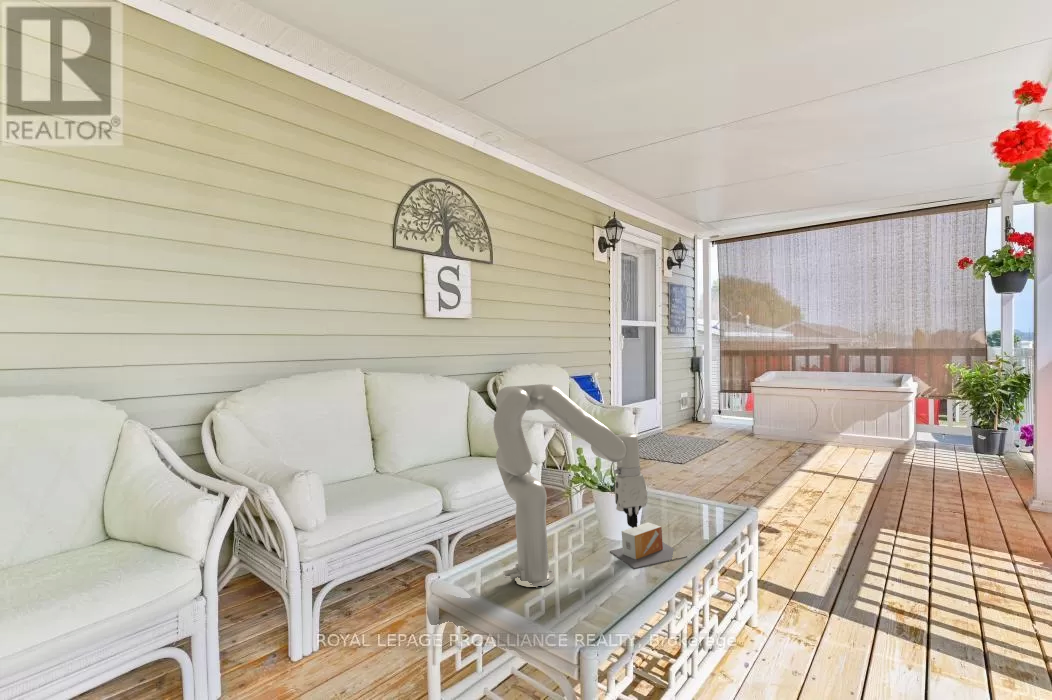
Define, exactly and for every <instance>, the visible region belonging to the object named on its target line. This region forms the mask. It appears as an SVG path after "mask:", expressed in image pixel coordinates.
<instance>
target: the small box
mask: <svg viewBox="0 0 1052 700" xmlns="http://www.w3.org/2000/svg"><path fill="white" fill-rule="evenodd" d="M662 528H663V527H662V526H661V525H657V524H654V523H651V522H649V521H648V522H645V523H642V524H639V525H638V524H637V527H634V528H632V527H630V528H627V529H624V530H621V544H622V548H623V554H624V555H626V556H629V557H631V558H633V559H639V558H642V557H644V556H647V555H650V554H652V553H655V552H657V551H660V550H663V544H662V542H663V533H662V531H663V530H662Z"/></svg>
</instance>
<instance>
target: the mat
mask: <svg viewBox="0 0 1052 700" xmlns="http://www.w3.org/2000/svg"><path fill="white" fill-rule="evenodd" d="M662 544H663V550H660V551H657V552H655V553H652V554H650V555H647V556H644V557H642V558H639V559H633V558H631V557H629V556H626V555H624V554H623V547H621V548H616V549H611V550H609V553H611V554H612V555H614V556H615V557H617V558H618V559H620V560H621V561H623V562H624V563H625V564H626V565H628V566H629V567H631V568H633V569H634V570H636V569H641V568H646V567H650V566H654V565H659V564H663V562H664V563H666V562H665V561H668V562H670V561H669V560H672V557H673V556H672V555H673V551H674V549H675V548H673V547H672V546H670V545H669V544H667V543H665V542H663V541H662ZM672 561H673V560H672Z"/></svg>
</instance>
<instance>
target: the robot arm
mask: <svg viewBox="0 0 1052 700" xmlns="http://www.w3.org/2000/svg"><path fill="white" fill-rule="evenodd" d="M495 404H496V406H497V408H496V412H495V415H494V416H493V431H494V436H495V439H496V444H497V446H498V448H497V450H496V454H495V461H496V465H497V469H498V471H499V474H500V476H501V480H502V482H503V485H504V488H505V490H506V492H507V495H508V496H509V497H510V499H512V500H513V501H514V502H515V533H516V551H517V552H516V553H517V563H516V564H515V567H513V568H512V569H507V570H503V572H502V573H504V574H503V576H504V575H505V576H510V577H509V579H510V580H514V578H517V577H518V578H520V580H521V581H528V582H529V583H532V584H530V585H533V586H542V587H545V586H548V585H550V584H551V583H552V582H554V580H555V573H554V571H553V570H552V569H550V565H549V551H548V549H549V548H548V535H547V534H548V533H547V531H548V530H547V521H546V519H547V517H546V516H547V515H546V514H547V513H546V510H547V498H548V497H547V491H546V488H545V486H544V484H543V483H542V482H541V481H540V480H539V479H538V478H536V477H534V476H533V475H532V474H531V472H530V471H531V469H532V467H533V458H532V455H531V452H530V449H529V447H528V444H527V440H526V438H525V435H524V432H523V427H522V419H523V417H524V415H525V413H526V412H528V411H535V410H540V411H543V412H544V413H545V414H547V415H548V416H549V417H550V418H552V419H553V420H554V421H555V422H556V423H557V424H559V425H560V426H561V427H562V428H563V429H564V430H566V431H567V432H568V433H570V434H572V435H573V436H575V437H577V438H579V439H581V440H583V441H584V442H586V443H588V444H589V445H590V449H591V452H592V453H593V454H594V455H595V456H597V457H598V458H601V459H603V460H606V461H608V462H611V463H616V469H613V473H614V474H615V476H616V477H615V482H614V500H615V501H614V502H615V504H616V508H615V509H616V511H619V512H624V513H625V514H626V522H627V523H626V524H627V525H628V527H630V528H634V527H637V526H638V515H639V514H640V513H639V512H640V511H641V509H643V508H644V507H646V506H647V504H648V501H649V500H648V498H649V497H648V491H647V486H646V485H647V484H646V480H645V477H644V474H643V473H641V461H640V448H639V447H640V446H639V437H638V436H637V434H635V433H629V432H626V433H624V432H623V433H619V434H616V433H614V431H612V430H611V429H610V428H608V427H607V426H606V425H604V424H603V423H602V422H600V421H599V420H597V419H596V418H595V417H593V415H591V414H589V413H588V412H586V411H585V410H584V409H582V407H580V405H578V404H576V402H574V400H573V399H571V398H570V397H569V396H568V395H566V393H564V392H563V391H562V390H561V389H560V388H558V387H557V386H555V385H553V384H545V383H542V384H541V383H540V384H539V383H538V384H531V385H528V384H527V385H513V386H511V385H510V386H505V387H502V388H501V389H499V390H498V392H497V394H496V395H495Z"/></svg>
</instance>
